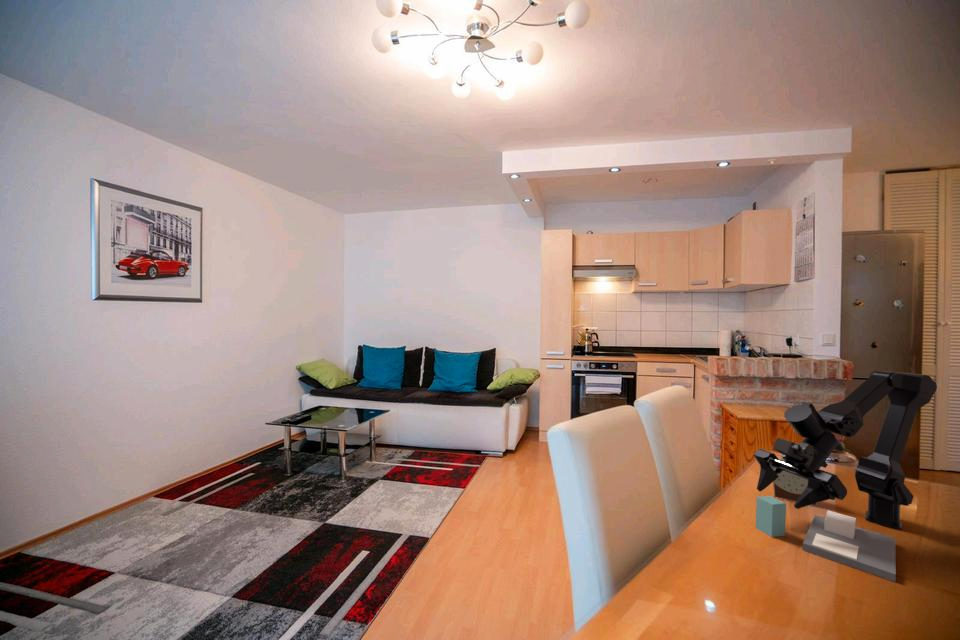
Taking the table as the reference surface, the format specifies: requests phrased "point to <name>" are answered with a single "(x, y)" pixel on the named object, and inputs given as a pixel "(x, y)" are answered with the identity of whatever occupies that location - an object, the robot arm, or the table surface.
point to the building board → (851, 545)
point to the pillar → (770, 516)
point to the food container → (789, 486)
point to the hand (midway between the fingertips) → (776, 498)
